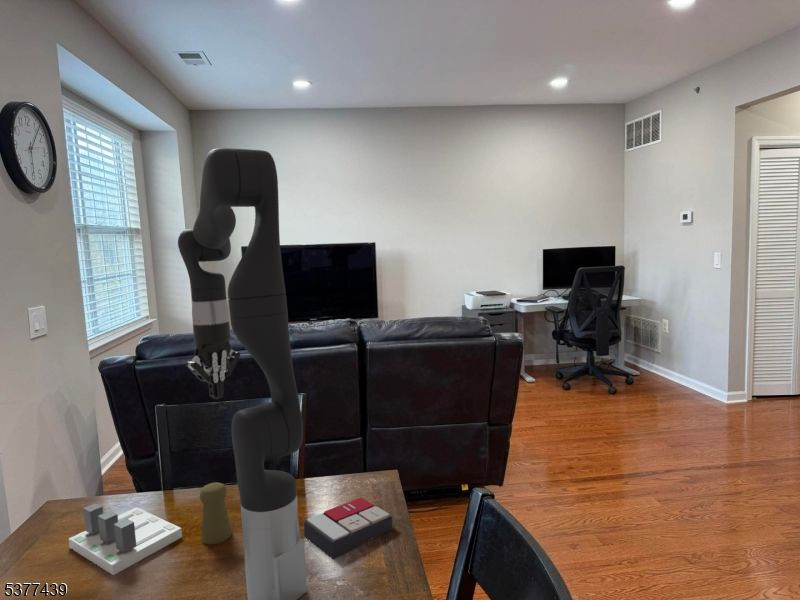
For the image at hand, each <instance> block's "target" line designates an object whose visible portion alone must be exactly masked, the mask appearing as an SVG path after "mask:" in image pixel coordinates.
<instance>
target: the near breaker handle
mask: <svg viewBox="0 0 800 600" xmlns="http://www.w3.org/2000/svg"><path fill="white" fill-rule="evenodd" d="M114 531H115V541H116V549H118V550H120V551H121V552H123V553H125V552H127V551H129V550H131V549H133V548H135V547H136V537H135V527H134V522H133V521H131V520H129V519H127V518H126V519H124V520H122V521H119V522H117V523H115V524H114Z"/></svg>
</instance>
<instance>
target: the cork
mask: <svg viewBox="0 0 800 600" xmlns="http://www.w3.org/2000/svg"><path fill="white" fill-rule="evenodd" d="M226 497H227V488H226V485H225V484H224V483H221V482H211V483H208V484H205V485H204V486H203V487H202V488H201V489H200V492H199V499H200V501H201V503H202V518H201V519H202V521H201V534H200V535H201V536H200V539H201V542H202V543H203V544H205V545H217V544H220V543H224V542H225V541H227V540H228V539H230V538H231V536H232V534H233V533H232V532H233V531H232V527H231V522H230V518H229V513H228V509H227V505H226V500H225V499H226Z"/></svg>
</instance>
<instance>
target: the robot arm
mask: <svg viewBox="0 0 800 600" xmlns="http://www.w3.org/2000/svg"><path fill="white" fill-rule="evenodd" d="M199 195H200V196H199V210H198V214H197V216H196V220H195V222H194V225H193V228H187V229H184V230H182V231H181V232H180V234H179V236H178V240H177V246H178V250H179V253H180V255H181V258H182V260H183V262H184V266H185V269H186V270H187V275H188V279H189V283H190V292H191V301H192V302H191V319H192V330H193V331H192V333H193V343H194V344H195V351H194V357H193V358H192V359H191V361H189V360H188V361H186V363H185V366H186V368H188V369H189V371H190V372H191V373H192V374H193V375H195V377H196V378H197V379H198V380H199V381H200V382H207V384H208V392H209V393H208V394H209V397H210V398H211V399H212V400H219V399H222V398H223V397H224V394H225V388H224V387H225V385H224V383H225V382H224V381H225V379H226V378H227V377H230V376H231V375H232V373H233V371H234V368H236V364H237V362H238V361H239V358H240V356H241V353H240V352H239V351H235V350H234V349H233V348H232V345H231V344H230V340H231V337H232V336H231V329H232V332H233V333H234V335H235V337H236V339H237V340H238V341H239V342H240V344H241V345H242V346H243V348H244V349H245V350H246V351H247V352H248V354H249V355H250V356H251V357H252V358H253V360H254V361H255V362H256V364H257V365H258V366H259V367H260V369H261V370H262V372H263V374H264V376H265V378H266V380H267V384H268V387H269V392H270V400H271V401H270V402H266V403H262V404H258V405H253V406H250V407H246V408H243V409H239V410H237V411H236V412H235V413H234V415H233V417H232V420H231V426H230V427H231V428H230V429H231V430H230V431H231V440H232V441H231V442H232V449H233V455H234V463H235V472H236V473H235V474H236V481H237V486H238V487H237V488H238V493H239V500H240V514H241V516H240V517H241V528H242V529H241V530H242V531H241V532H242V542H243V543H242V544H243V555H244V557H243V558H244V570H245V581H246V593H247V600H299V599H300V598H301V597H302V596H303V595H304V594H306V593H307V592H308V587H307V585H308V584H307V568H306V554H305V553H306V552H305V541H304V539H302V538H300V526H299V525H300V524H299V523H300V522H299V510H298V509H299V507H298V491H297V482H296V478H295V476H293V475H292V474H290V473H289V472H286V471H282V470H278V469H277V470H275V469H273V470H272V469H265V465H264V464H265V463H266V462H269V461H273V460H276V459H279V458H282V457H285V456H288V455H291V454H293V453H296V452H298V450H299V449H300V448H301V447H302V444H303V441H304V422H303V416H302V410H301V405H300V398H299V393H298V387H297V384H296V378H295V372H294V367H293V366H294V365H293V358H292V352H291V351H292V349H291V341H290V330H289V329H290V328H289V313H288V302H287V295H286V294H287V290H286V285H285V278H284V271H283V261H282V251H281V241H280V212H279V211H280V209H279V208H280V204H279V201H280V200H279V180H278V171H277V166H276V162H275V159H274V157H273V156H272V154H271V153H270V152H269V151H266V150H260V149H249V148H248V149H247V148H234V147H232V148H231V147H219V148H218V147H217V148H213V149H211V150H210V151H209V152H208V153H207V155H206V157H205V159H204V163H203V167H202V174H201V185H200V194H199ZM232 207H234V208H235V207H237V208H238V207H241V208H242V207H243V208H246V207H247V208H249V207H250V208H252V207H253V208H254V213H255V215H254V216H255V217H254V227H253V232H252V236H251V238H250V240H249V243H248V245H247V247H246V250H245V251H244V253H243V255H242V257H241V259H240V260H239V262H238V263H237V266H236V268H235V269H234V272H233V274H232V275H231V277H230V280H229V282H228V287H226V279H225V276H224V275H223V274H222V273H220V272H215V271H208V270H204V269H203V268H202V266H200V263H202V262H203V263H204V262H221V261H224V260H226V259H227V258H228V257H229V256H230V255H231V250H232V245H231V239H230V238H231V236H232V234H233V232H234V231H235V228H236V225H237V220H236V218H237V217H236V214H235V211H234V209H233V208H232ZM226 288H227V289H226ZM227 299H228V301H227ZM230 325H231V327H230ZM202 366H203V368H202Z"/></svg>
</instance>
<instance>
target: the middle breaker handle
mask: <svg viewBox="0 0 800 600" xmlns="http://www.w3.org/2000/svg"><path fill="white" fill-rule="evenodd" d="M118 516H119V514H118V513H116V512H114V511H112V510H108V511H106V512H103V514H101V515H99V516H98V523H99V532H100V540H102V541H103V542H105V543H107V544H108V543H110V542H112V541H114V540H115V531H114V524H115V523H117V522H118Z"/></svg>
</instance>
